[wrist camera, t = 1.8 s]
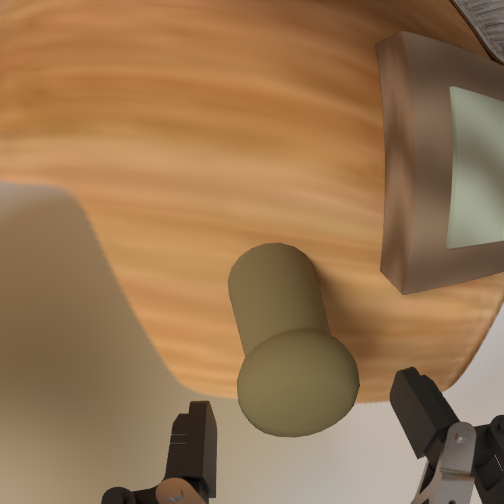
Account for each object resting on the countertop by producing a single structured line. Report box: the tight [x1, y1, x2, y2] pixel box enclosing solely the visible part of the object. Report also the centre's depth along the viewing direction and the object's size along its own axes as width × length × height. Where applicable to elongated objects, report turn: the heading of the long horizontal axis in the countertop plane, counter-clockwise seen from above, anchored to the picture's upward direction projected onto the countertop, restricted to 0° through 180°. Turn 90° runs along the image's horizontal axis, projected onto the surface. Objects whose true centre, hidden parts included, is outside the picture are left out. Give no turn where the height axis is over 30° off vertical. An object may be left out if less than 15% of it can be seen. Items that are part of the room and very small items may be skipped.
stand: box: [376, 31, 504, 295], centre depth 16 cm, size 16×16×4 cm
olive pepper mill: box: [228, 243, 360, 437], centre depth 15 cm, size 6×6×11 cm
